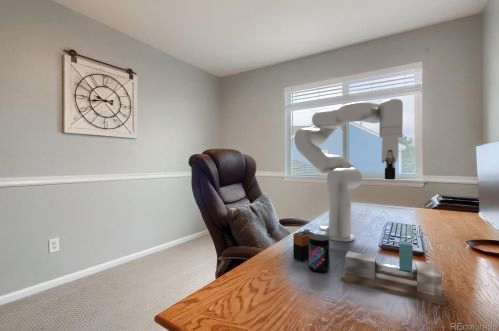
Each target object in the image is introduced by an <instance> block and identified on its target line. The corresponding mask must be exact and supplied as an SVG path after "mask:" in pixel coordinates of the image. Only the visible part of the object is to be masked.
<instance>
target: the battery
mask: <svg viewBox="0 0 499 331" xmlns="http://www.w3.org/2000/svg"><path fill="white" fill-rule="evenodd" d="M312 234H315V233H314V232H311V230H310V229H307V228H305V229H303V230H302V231H301V230H300V231H298V232H295V233H293V235H292V236H293V238H292V239H293V245H292V246H293V250H292V252H293V255H292V256H293V259H294V260H296V261H298V262H301V263H303V262H308V236H309V235H312Z"/></svg>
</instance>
